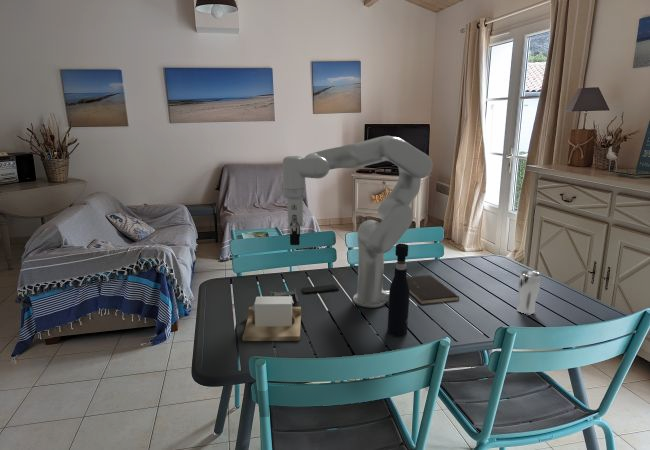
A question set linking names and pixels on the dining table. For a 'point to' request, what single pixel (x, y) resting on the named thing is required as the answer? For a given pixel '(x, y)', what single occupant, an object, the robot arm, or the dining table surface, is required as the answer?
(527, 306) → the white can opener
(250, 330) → the cleat board
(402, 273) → the black bottle
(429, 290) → the hardcover book
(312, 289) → the remote control
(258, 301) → the light grey block
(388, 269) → the dining table surface
